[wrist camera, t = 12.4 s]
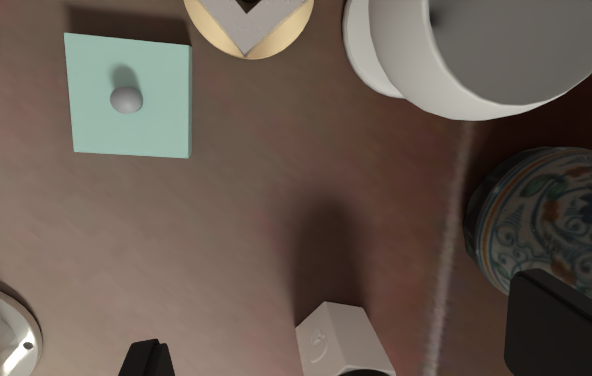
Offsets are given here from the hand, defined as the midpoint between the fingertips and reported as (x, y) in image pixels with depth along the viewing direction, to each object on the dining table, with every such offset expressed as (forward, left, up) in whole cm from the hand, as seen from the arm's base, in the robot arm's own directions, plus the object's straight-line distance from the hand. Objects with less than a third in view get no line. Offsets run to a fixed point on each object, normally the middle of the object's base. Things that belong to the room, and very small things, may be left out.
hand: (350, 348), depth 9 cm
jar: (+8, -20, -25) cm, 33 cm away
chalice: (+11, +12, -25) cm, 30 cm away
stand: (-12, +4, -25) cm, 28 cm away
